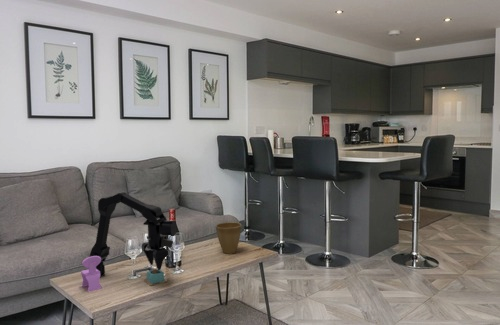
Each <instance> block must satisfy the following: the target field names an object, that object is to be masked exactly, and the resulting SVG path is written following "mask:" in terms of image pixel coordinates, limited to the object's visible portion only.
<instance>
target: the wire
mask: <svg viewBox="0 0 500 325" xmlns="http://www.w3.org/2000/svg"><path fill="white" fill-rule="evenodd" d="M154 269H155V268H153V267H152V266H149V267H145V268H139V269H135V270H133V271H132V273H133V274H132V276H133V277H136V276H137V273H141V272H148V271H152V270H154Z"/></svg>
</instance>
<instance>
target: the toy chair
mask: <svg viewBox="0 0 500 325" xmlns="http://www.w3.org/2000/svg"><path fill="white" fill-rule="evenodd" d="M100 262H101V258H100V257H99V256H91V257H89V256H88V257H86V258H84V259H83V260H82V262H81V265H82V266H83V267H84V268H85V270H81V271H80V275H81V277H82V285H81V287H82V288H83V287H87V286H88V288H87V293H89V292H93V291H97V290H100V289H103V288H102V286H101V283H100V278H101V276H100V271H99V270H97V269H96V266H97V265H98V264H99V263H100Z"/></svg>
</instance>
